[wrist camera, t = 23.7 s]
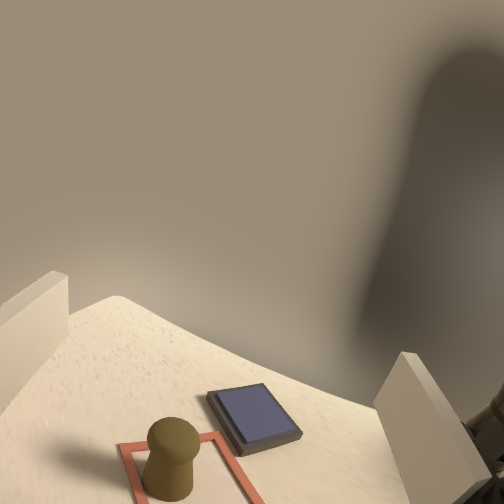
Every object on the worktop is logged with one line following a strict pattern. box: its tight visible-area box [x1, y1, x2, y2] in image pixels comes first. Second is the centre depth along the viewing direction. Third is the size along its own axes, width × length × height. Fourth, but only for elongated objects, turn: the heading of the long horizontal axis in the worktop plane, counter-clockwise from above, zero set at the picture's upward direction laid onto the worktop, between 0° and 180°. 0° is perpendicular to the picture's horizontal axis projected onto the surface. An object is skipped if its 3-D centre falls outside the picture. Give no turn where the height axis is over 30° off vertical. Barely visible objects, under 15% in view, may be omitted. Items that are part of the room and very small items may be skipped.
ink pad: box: [206, 383, 303, 457], centre depth 42 cm, size 12×10×2 cm
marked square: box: [119, 431, 265, 504], centre depth 29 cm, size 14×14×1 cm
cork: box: [142, 417, 200, 502], centre depth 27 cm, size 6×6×11 cm
